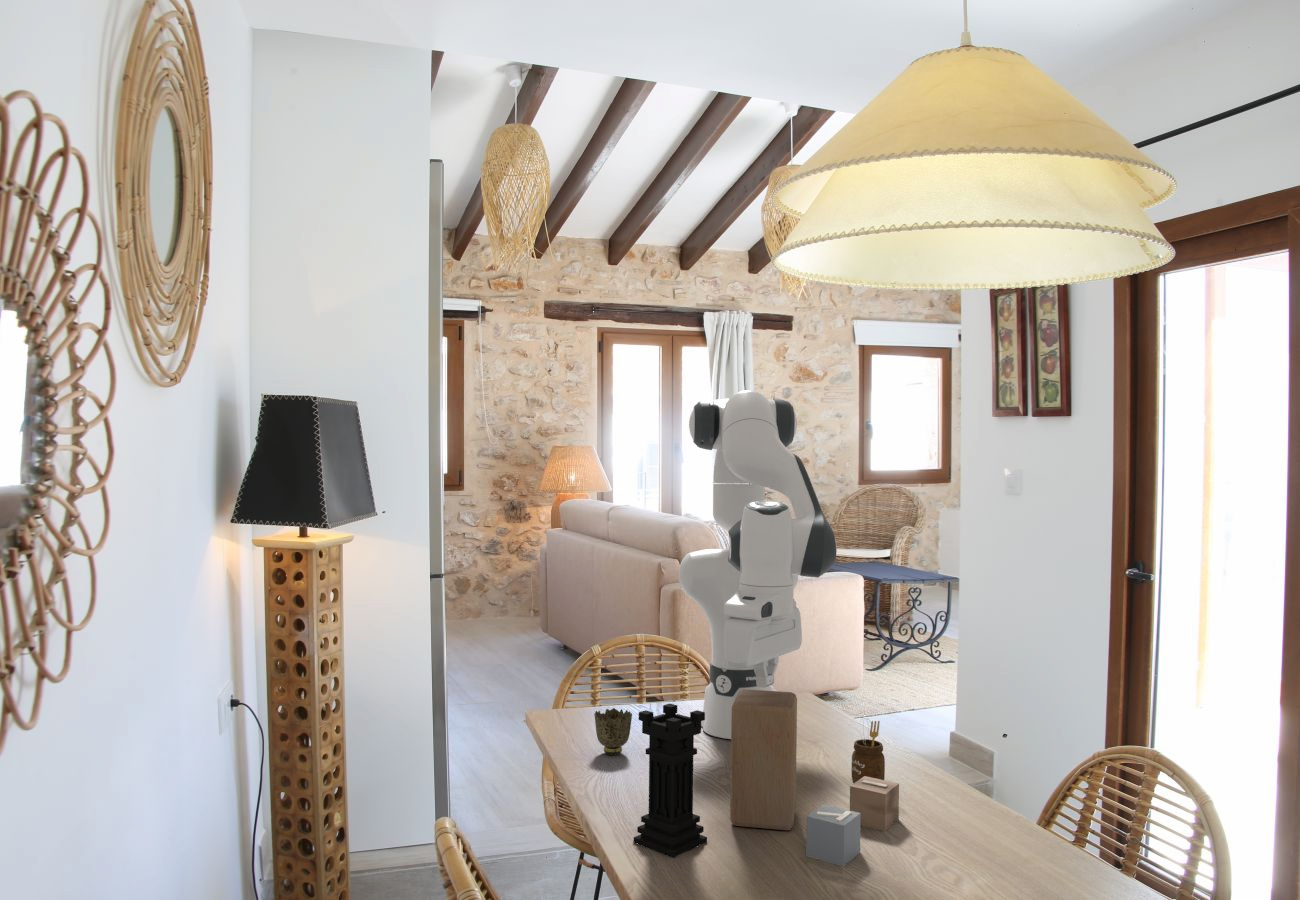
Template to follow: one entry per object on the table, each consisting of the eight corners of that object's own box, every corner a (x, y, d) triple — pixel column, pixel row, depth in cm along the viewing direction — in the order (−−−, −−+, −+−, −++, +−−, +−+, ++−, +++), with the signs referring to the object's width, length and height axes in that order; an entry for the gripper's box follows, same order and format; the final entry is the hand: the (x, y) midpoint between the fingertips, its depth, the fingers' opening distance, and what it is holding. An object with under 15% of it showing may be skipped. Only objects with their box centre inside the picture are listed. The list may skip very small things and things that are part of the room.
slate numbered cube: (823, 843, 150) (823, 802, 150) (860, 852, 146) (860, 811, 146) (806, 856, 145) (806, 814, 145) (843, 866, 141) (844, 823, 141)
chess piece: (633, 842, 149) (634, 712, 149) (668, 827, 155) (669, 702, 155) (672, 858, 143) (674, 722, 143) (707, 842, 149) (708, 712, 149)
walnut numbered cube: (864, 811, 163) (864, 774, 163) (898, 820, 159) (899, 782, 159) (849, 822, 158) (850, 784, 158) (884, 831, 154) (885, 792, 154)
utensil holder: (876, 775, 181) (877, 710, 181) (890, 787, 174) (891, 720, 174) (846, 776, 180) (847, 711, 180) (859, 788, 173) (860, 721, 173)
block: (792, 833, 153) (794, 706, 153) (729, 827, 155) (731, 702, 155) (796, 810, 163) (797, 691, 163) (736, 805, 165) (737, 687, 165)
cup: (619, 745, 197) (619, 706, 197) (638, 755, 191) (639, 714, 191) (587, 751, 193) (587, 711, 193) (606, 761, 187) (606, 720, 186)
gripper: (778, 592, 169) (777, 671, 169) (717, 606, 152) (716, 694, 152) (811, 595, 165) (810, 676, 165) (753, 610, 149) (752, 701, 149)
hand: (765, 685), depth 159 cm, fingers closed
